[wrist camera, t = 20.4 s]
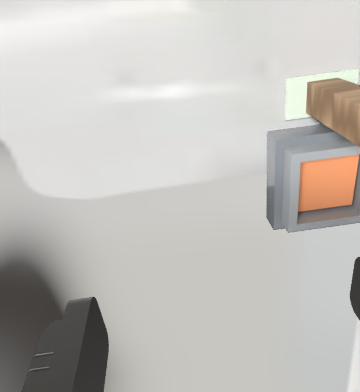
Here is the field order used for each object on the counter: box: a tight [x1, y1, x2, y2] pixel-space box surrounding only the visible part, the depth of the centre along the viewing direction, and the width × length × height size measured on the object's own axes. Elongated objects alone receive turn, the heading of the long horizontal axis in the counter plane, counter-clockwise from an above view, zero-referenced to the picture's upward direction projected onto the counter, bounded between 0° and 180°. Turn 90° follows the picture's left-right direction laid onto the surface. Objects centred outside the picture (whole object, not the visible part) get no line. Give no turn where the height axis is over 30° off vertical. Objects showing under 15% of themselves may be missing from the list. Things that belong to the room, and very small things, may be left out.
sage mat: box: [285, 69, 360, 120], centre depth 38 cm, size 5×8×1 cm, turn 97°
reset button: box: [298, 154, 359, 212], centre depth 41 cm, size 7×7×3 cm
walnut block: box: [306, 78, 360, 147], centre depth 33 cm, size 3×3×12 cm
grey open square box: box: [267, 124, 360, 233], centre depth 41 cm, size 12×12×5 cm
